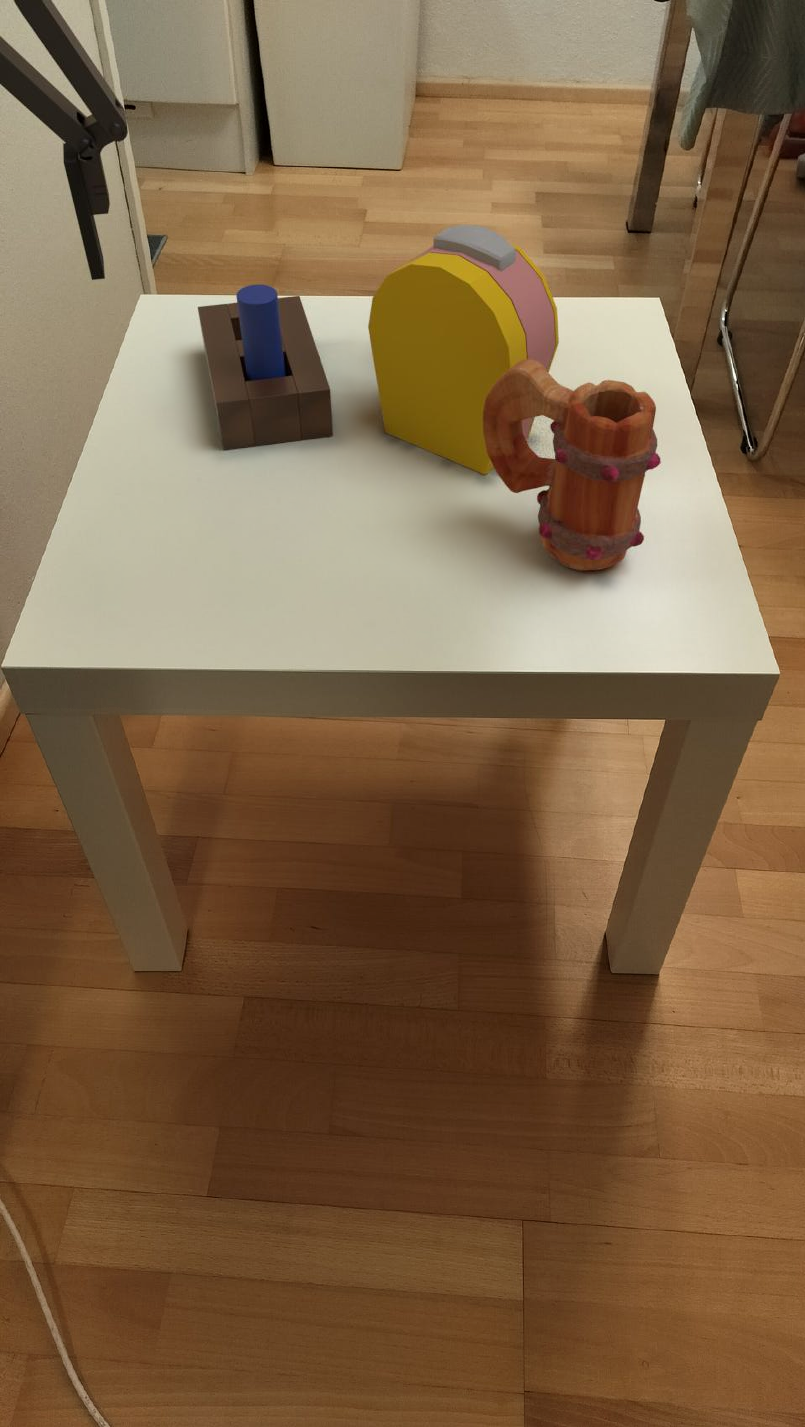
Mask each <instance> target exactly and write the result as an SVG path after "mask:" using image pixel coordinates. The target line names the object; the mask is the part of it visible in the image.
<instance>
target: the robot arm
mask: <svg viewBox="0 0 805 1427" xmlns="http://www.w3.org/2000/svg"><path fill="white" fill-rule="evenodd" d="M13 2H14V4H15V5H16V7H17V9H18V10H19V12H20V14H21V15H22V16H23V18H24V19H25V21H26V22H27V24H28V25H29V27H30V28H31V29H32V31H33V32H34V34H35V35H36V37H37V38H38V39H39V41H40V42H41V44H42V45H43V47H44V48H45V49H46V51H47V52H48V54H49V55H50V57H51V58H52V60H53V61H54V62H55V63H56V65H57V66H58V68H59V69H60V71H61V72H62V74H63V76H65V78H66V79H67V81H68V82H69V83H70V85H71V87H72V88H73V89H74V91H75V92H76V93H77V95H78V97H79V98H80V99H81V101H82V102H83V103H84V105H85V107H86V108H87V109H88V111H89V112H90V115H88V116H86V115H85V113H84V112H82V111H81V110H80V108H78V107H77V106H76V104H74V103H73V102H72V101H71V100H70V99H69V98H67V96H65V95H64V94H63V93H62V92H61V91H60V90H59V89H58V88H57V87H55V86H54V84H52V82H50V81H49V80H48V79H47V78H46V77H45V76H44V75H42V73H40V72H39V71H38V70H37V69H36V68H35V67H34V66H33V65H32V64H31V63H30V62H29V61H28V60H27V59H26V58H25V57H23V55H21V54H20V53H19V52H18V51H17V50H16V49H15V48H14V47H13V46H12V45H11V44H10V43H8V41H7V40H5V39H4V37H2V36H1V35H0V85H1V87H3V88H4V89H5V90H6V91H7V92H8V93H10V95H12V96H13V97H14V98H15V99H16V100H17V101H19V102H20V104H22V105H23V106H24V107H25V108H26V109H27V110H28V111H29V112H31V114H33V115H34V116H35V117H36V118H37V119H38V120H40V122H42V123H43V125H45V126H46V127H47V128H48V129H50V131H52V133H54V134H55V135H56V136H57V137H58V138H60V139H61V140H62V142H63V143H62V152H63V156H62V157H63V166H64V170H65V175H66V178H67V183H68V185H69V186H68V187H69V191H70V195H71V199H72V203H73V206H74V208H73V209H74V211H75V215H76V219H77V223H78V224H77V225H78V228H79V233H80V236H81V240H82V245H83V248H84V249H83V250H84V253H85V257H86V261H87V266H88V270H89V273H90V277H91V281H96V280H105V279H106V275H105V261H104V255H103V250H102V246H101V241H100V238H99V234H98V233H99V232H98V229H97V224H96V220H95V217H94V216H97V215H98V216H99V215H108V214H109V210H110V204H111V201H110V193H109V188H108V183H107V179H106V174H105V169H104V165H103V160H102V156H101V154H102V151H103V149H104V148H105V147H106V146H107V145H110V144H111V143H114V142H116V143H117V142H119V143H120V142H123V141H124V140H126V138H127V137H128V133H129V130H128V129H129V128H128V120H127V114H126V110H125V108H124V105H122V103H121V102H120V100H119V99H118V97H117V96H116V94H115V92H114V90H112V88H111V87H110V85H109V84H108V82H107V81H106V79H105V77H104V76H103V75H102V73H101V72H100V70H99V68H98V67H97V66H96V64H95V62H94V61H93V59H92V58H91V57H90V55H89V54H88V52H87V51H86V49H85V47H84V46H83V45H82V43H81V42H80V40H79V39H78V38H77V36H76V35H75V33H74V32H73V30H72V29H71V27H70V25H69V24H68V22H67V21H66V19H65V18H64V17H63V15H62V14H61V12H60V11H59V9H58V8H57V6H56V4H55V3H54V2H53V0H13Z"/></svg>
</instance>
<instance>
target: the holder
mask: <svg viewBox="0 0 805 1427" xmlns="http://www.w3.org/2000/svg"><path fill="white" fill-rule="evenodd" d="M278 306H279V316H280V326H281V336H282V347H283V357H284V367H285V377H278V378H270V379H262V380H253V381H247V374H246V366H245V358H244V351H243V343H242V335H241V328H240V320H239V312H238V305H237V302H230V303H221V304H220V303H219V304H209V305H201V306H197V313H198V318H199V319H198V320H199V325H200V331H201V338H202V344H203V350H204V356H205V361H206V366H207V371H208V377H209V381H210V387H211V392H212V398H213V402H214V407H215V413H216V418H217V423H218V429H219V434H220V438H221V444H222V449H223V451H228V450H236V449H242V448H250V447H257V446H266V445H267V446H268V445H274V444H281V443H289V442H298V441H303V440H311V439H320V438H325V437H333V436H334V430H333V429H334V428H333V413H332V412H333V411H332V396H331V388H330V385H329V381H328V378H327V375H326V373H325V369H324V365H323V363H322V360H321V357H320V354H319V351H318V348H317V345H316V342H315V339H314V335H313V332H312V330H311V329H312V328H311V327H310V323H309V321H308V317H307V315H306V312H305V309H304V306H303V302H302V299H301V296H300V295H293V296H283V297H278Z"/></svg>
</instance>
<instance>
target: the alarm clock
mask: <svg viewBox="0 0 805 1427" xmlns="http://www.w3.org/2000/svg"><path fill="white" fill-rule="evenodd" d="M551 292H552V291H551V290H550V287H549V284H548V282H547V279H546V277H545V275H544V274H543V273H542V271H541V270H540V269H539V268H538V267H537V265H536V264H535V263H534V261H532V259H531V258H530V257H529V256H528V255H527V254H526V252H525V251H524V250H523V249H522V248H521V247H520V246H518V245H517V244H514V243H513V242H511V241H509V240H507V239H506V238H505V237H504V236H502V235H500V234H499V233H498V232H496V231H494V230H492V229H490V228H489V227H486V226H481V225H474V224H460V225H454V226H449V227H447V228H446V229H444V230H442V231H441V232H440V233H438V234H436V235H434V236H433V245H432V246H431V247H429V248H427V249H426V250H424V251H423V252H422V253H420V254H419V255H417V256H415V257H414V258H412V259H411V260H408V261H407V262H406V263H404V264H402V265H401V266H399V267H398V268H396V269H395V270H394V271H392V272H390V273H389V274H387V275H386V277H385V278H384V280H383V281H382V282H381V285H380V286H379V288H378V289H377V290H376V292H375V293H374V294H373V297H372V300H371V306H370V311H369V312H370V313H369V319H368V325H367V328H368V329H367V330H368V335H369V341H370V346H371V354H372V359H373V366H374V371H375V377H376V382H377V383H376V384H377V389H378V396H379V402H380V408H381V415H382V419H383V420H382V421H383V426H384V432H385V433H387V434H388V435H390V436H393V437H396V438H398V439H401V440H403V441H405V442H408V443H409V444H412V445H415V446H417V447H418V448H420V449H421V448H422V449H424V450H425V451H428V452H431V453H433V454H435V455H438V456H440V457H442V458H445V459H448V460H450V461H451V462H454V463H457V464H459V465H461V466H463V467H466V468H469V469H471V470H473V471H475V472H477V473H480V474H483V475H485V476H487V475H488V474H489V473H490V472H491V471H493V469H495V468H494V466H493V464H492V462H491V460H490V458H489V456H488V454H487V450H486V444H485V439H484V434H483V410H484V404H485V400H486V397H487V395H488V394H489V392H490V390H491V388H492V387H493V385H494V384H495V382H496V381H497V380H499V379H500V378H501V376H502V375H503V373H504V372H507V371H508V370H509V369H510V368H511V367H513V365H515V364H517V363H518V362H520V361H521V360H526V359H532V360H535V361H538V362H539V363H541V364H542V365H543V366H544V368H545V369H546V370H547V372H548V373H549V374H550V370H551V367H552V364H553V360H554V358H555V355H556V352H557V349H558V346H559V342H560V340H559V320H558V308H557V305H556V303H555V300H554V297H553V295H552V293H551ZM535 418H536V417H532V418H528V419H524V420H522V428H523V435H524V437H525V439H526V440H527V439H528V438H529V437H530V434H531V431H532V428H533V425H534V421H535Z"/></svg>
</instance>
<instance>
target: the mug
mask: <svg viewBox="0 0 805 1427" xmlns="http://www.w3.org/2000/svg"><path fill="white" fill-rule="evenodd" d="M656 412H657V406H656V403H655V400H653V398H652V397H651V395H649V393H647V391H636V390H635V388H634V387H633V386H632V385H630V384H628V383H627V382H625V381H621V380H620V381H619V380H612V379H604V380H602V381H601V382H600V383H599V384H597V385H596V384H594V383H593V382H586V383H584V384H581V385H579V386H577V388H576V389H574V390H573V389H571V388H568V387H566V386H564V385H562V384H560V383H559V382H558V381H557V380H556V379H555V378H554V377H553V376H552V375H551V374H550V372H549V373H548V372H547V370H546V369H545V368H544V366H543V365H542V364H541V363H539V362H538V361H535V360H532V359H526V360H521V361H520V362H518V363H517V364H515V365H513V367H511V368H510V369H509V370H508V371H507V372H504V373H503V375H502V376H501V378H500V379H499V380H497V381H496V382H495V384H494V385H493V387H492V388H491V390H490V392H489V394H488V395H487V397H486V400H485V404H484V410H483V434H484V439H485V444H486V450H487V454H488V456H489V458H490V460H491V462H492V464H493V466H494V468H493V469H494V470H495V472H496V474H497V475H498V477H499V478H500V479H501V481H502V482H503V484H504V485H505V486H506V487H507V489H508V490H509V491H510V492H512V493H514V494H519V493H521V492H525V491H530V490H534V489H539V488H543V487H548V489H543V490H541V491H539V492H538V493H537V496H536V501H537V503H538V504H539V510H538V514H537V521H538V531H539V532H538V534H539V536H538V538H539V542H540V543H541V545H542V546H543V548H544V550H545V552H546V553H547V555H549V556H551V558H553V559H554V560H555V561H557V563H559V564H560V565H562V566H564V567H566V568H569V569H572V570H577V571H595V570H596V571H597V570H603V569H607V568H610V567H613V566H615V565H616V564H618V563H620V562H622V561H623V560H624V559H625V557H626V556H627V550H630V548H632V547H637V546H640V545H642V544H643V542H644V540H645V536H644V534H643V533H642V532H641V531H640V530H641V529H640V528H641V523H642V516H641V513H640V509H639V508H638V507H639V503H640V499H641V493H642V490H643V485H644V482H645V476H646V473H647V472H648V471H650V470H654V469H655V468H657V467H659V466H660V465H661V463H662V461H661V457H660V456H659V453H657V449H658V437H657V434H656V432H655V430H654V425H655V420H656V419H655V418H656ZM540 416H541V417H542V416H543V417H545V418H548V419H550V420H552V422H551V424H550V425H549V427H550V428H549V429H550V431H551V433H552V434H553V438H552V446H553V447H552V448H553V452H554V458H552V457H551V458H550V457H549V458H548V457H540V456H538V454H537V453H536V452H535V451H534V450H533V449H532V448H531V447H530V445H529V443H528V441H527V439H525V437H524V435H523V428H522V420H524V419H528V418H532V417H535V418H537V417H540Z"/></svg>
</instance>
